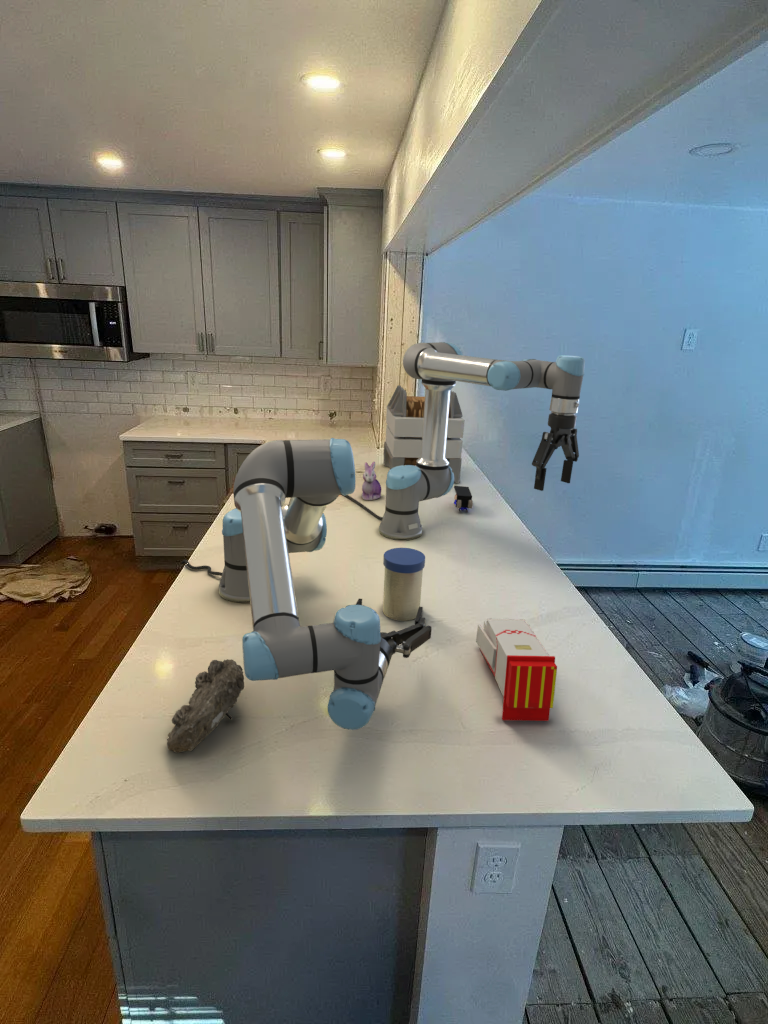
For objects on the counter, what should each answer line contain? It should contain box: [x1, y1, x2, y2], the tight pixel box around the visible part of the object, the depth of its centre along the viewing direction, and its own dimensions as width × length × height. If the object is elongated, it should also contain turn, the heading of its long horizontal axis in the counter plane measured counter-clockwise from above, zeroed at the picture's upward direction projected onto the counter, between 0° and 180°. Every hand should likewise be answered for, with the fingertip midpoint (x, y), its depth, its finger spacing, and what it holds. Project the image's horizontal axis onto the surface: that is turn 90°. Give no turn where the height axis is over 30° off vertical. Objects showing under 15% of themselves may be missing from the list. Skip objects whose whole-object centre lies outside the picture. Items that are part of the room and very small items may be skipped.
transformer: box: [383, 384, 465, 484], centre depth 268 cm, size 34×33×41 cm
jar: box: [382, 566, 424, 622], centre depth 146 cm, size 10×10×16 cm
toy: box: [475, 618, 558, 722], centre depth 122 cm, size 12×13×30 cm
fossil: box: [166, 658, 245, 754], centre depth 106 cm, size 22×10×15 cm
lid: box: [382, 547, 426, 573], centre depth 144 cm, size 11×11×2 cm
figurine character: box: [453, 485, 474, 513], centre depth 227 cm, size 7×8×15 cm
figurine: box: [361, 461, 382, 501], centre depth 234 cm, size 9×10×15 cm
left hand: (390, 607), depth 126 cm, fingers open, 13 cm apart
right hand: (552, 485), depth 166 cm, fingers open, 13 cm apart
